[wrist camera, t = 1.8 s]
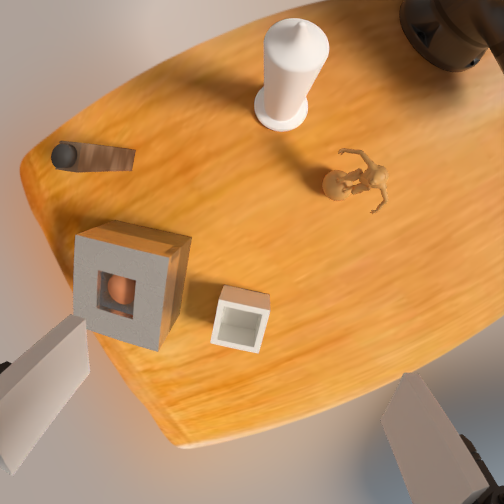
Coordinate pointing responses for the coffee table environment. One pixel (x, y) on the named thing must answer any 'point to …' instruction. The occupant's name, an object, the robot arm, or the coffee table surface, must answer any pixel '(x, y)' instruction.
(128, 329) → the grey box with hole
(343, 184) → the figurine
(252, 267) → the coffee table surface
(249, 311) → the pen cup
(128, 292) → the button
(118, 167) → the wood knob block
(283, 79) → the candle
